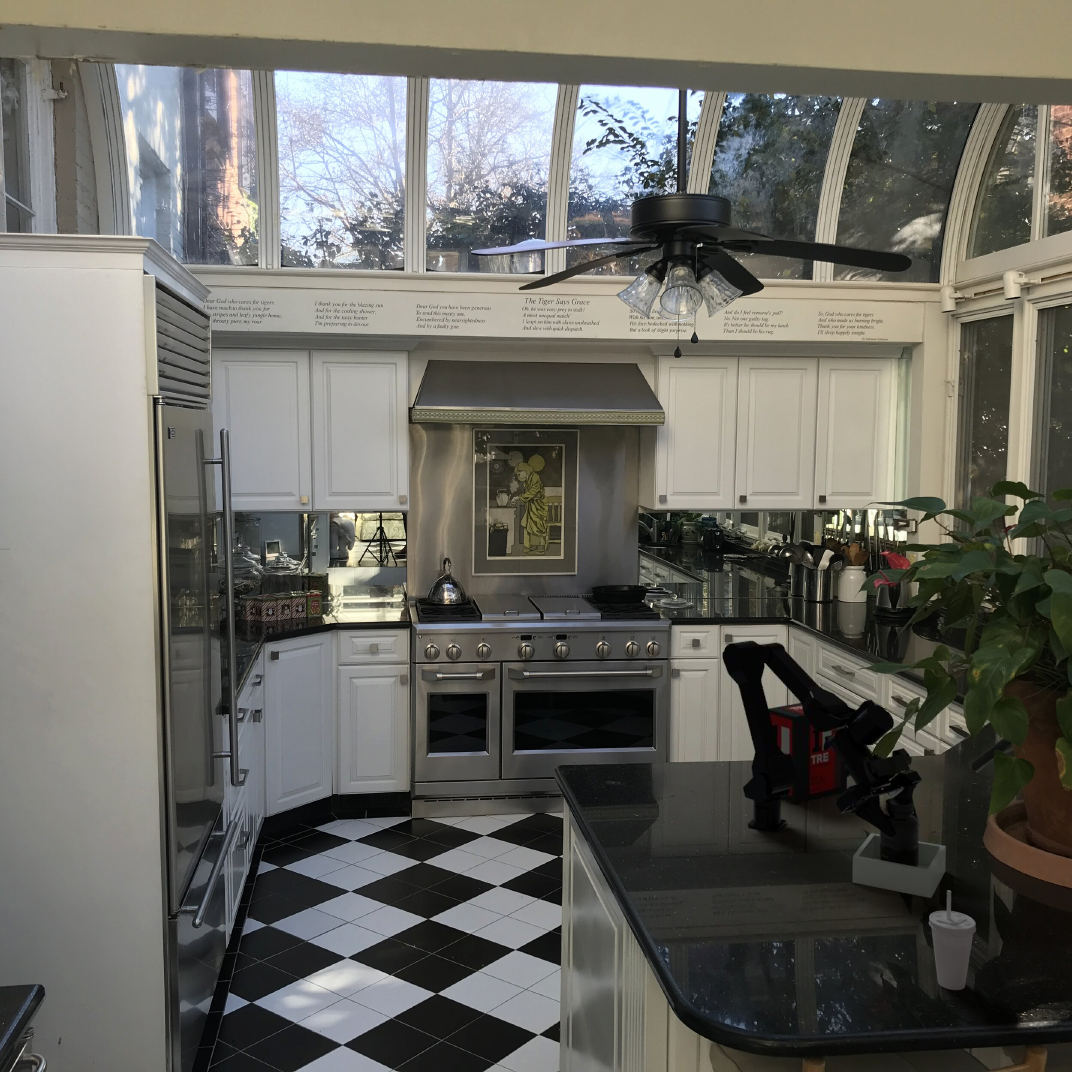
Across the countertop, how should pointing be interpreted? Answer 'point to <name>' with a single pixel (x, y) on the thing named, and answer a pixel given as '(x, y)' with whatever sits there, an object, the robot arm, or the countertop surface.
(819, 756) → the cleaning product box
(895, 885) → the box
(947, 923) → the smoothie
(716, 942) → the countertop surface
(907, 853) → the supplement bottle
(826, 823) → the countertop surface
